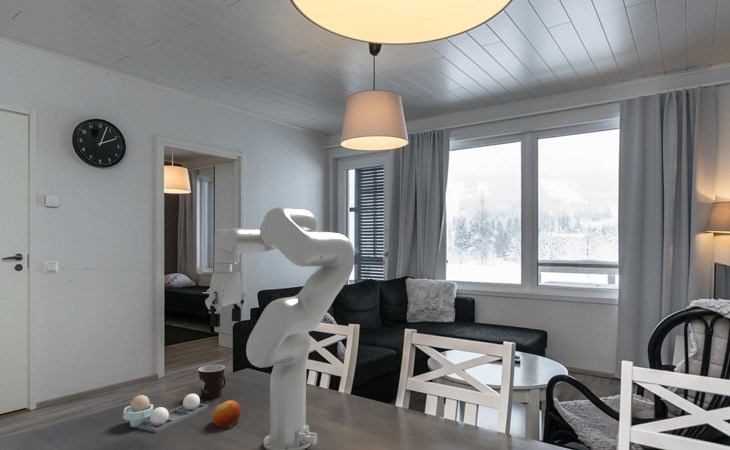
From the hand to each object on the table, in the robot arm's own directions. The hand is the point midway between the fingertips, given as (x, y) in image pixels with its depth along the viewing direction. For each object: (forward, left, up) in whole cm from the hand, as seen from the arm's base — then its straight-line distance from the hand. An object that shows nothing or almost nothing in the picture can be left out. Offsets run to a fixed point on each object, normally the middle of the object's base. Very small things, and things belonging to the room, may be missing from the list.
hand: (226, 323), depth 141 cm
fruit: (-5, +5, -29) cm, 29 cm away
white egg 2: (+12, +1, -28) cm, 30 cm away
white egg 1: (+12, +14, -28) cm, 33 cm away
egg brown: (+18, +16, -25) cm, 34 cm away
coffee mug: (+14, -10, -28) cm, 33 cm away
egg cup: (+18, +16, -28) cm, 37 cm away
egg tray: (+12, +8, -28) cm, 32 cm away
